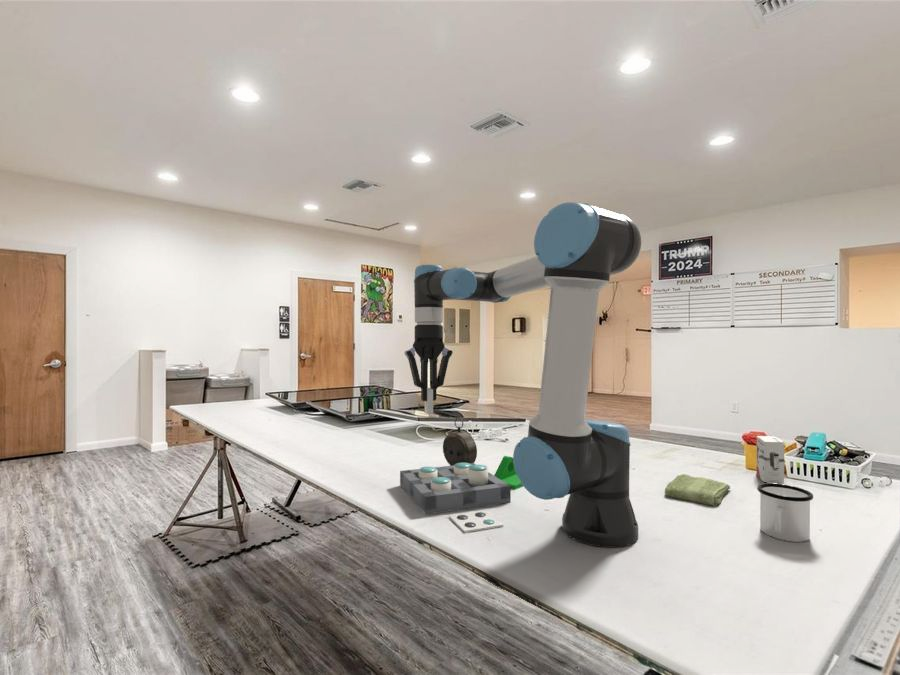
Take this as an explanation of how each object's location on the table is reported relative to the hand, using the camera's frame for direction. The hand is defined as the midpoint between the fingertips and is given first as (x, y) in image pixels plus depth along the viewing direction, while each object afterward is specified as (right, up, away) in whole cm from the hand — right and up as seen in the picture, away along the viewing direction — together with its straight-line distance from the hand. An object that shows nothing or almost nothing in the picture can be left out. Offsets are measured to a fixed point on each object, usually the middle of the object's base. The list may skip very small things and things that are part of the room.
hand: (428, 413), depth 124 cm
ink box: (+97, -21, +10) cm, 100 cm away
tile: (+11, -20, -21) cm, 31 cm away
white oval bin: (+74, -21, -28) cm, 82 cm away
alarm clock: (+8, -21, +17) cm, 28 cm away
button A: (+3, -19, -9) cm, 22 cm away
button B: (0, -19, 0) cm, 19 cm away
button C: (+13, -17, -6) cm, 22 cm away
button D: (+9, -19, +4) cm, 21 cm away
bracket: (+24, -21, +8) cm, 33 cm away
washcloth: (+70, -21, -2) cm, 73 cm away
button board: (+6, -20, -3) cm, 21 cm away
